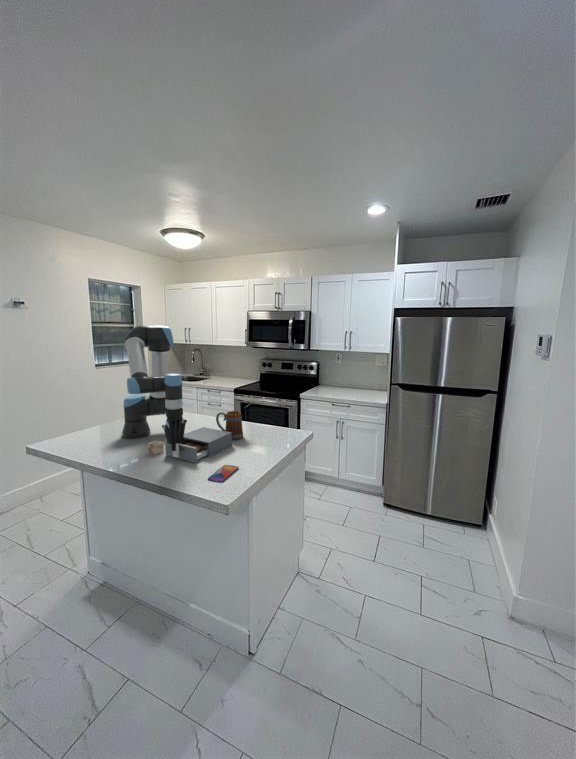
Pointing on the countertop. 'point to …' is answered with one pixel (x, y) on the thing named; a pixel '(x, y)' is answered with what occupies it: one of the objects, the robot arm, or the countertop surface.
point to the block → (155, 447)
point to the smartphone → (223, 473)
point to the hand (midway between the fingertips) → (176, 456)
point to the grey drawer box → (210, 439)
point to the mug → (232, 424)
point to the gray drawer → (188, 452)
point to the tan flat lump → (196, 445)
